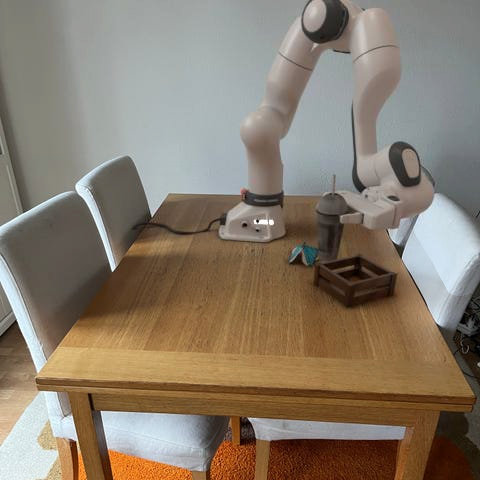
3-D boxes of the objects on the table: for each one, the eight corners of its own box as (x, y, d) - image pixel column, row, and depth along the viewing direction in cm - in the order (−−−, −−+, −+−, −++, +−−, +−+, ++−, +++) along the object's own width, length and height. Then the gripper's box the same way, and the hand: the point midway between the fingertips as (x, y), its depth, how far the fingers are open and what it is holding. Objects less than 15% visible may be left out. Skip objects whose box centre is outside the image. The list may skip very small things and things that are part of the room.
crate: (347, 308, 116) (350, 286, 113) (313, 284, 127) (315, 263, 124) (393, 295, 121) (397, 274, 118) (357, 273, 133) (359, 253, 130)
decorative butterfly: (280, 251, 136) (292, 232, 142) (281, 269, 140) (293, 250, 147) (315, 257, 132) (325, 237, 139) (315, 275, 137) (325, 255, 143)
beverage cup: (345, 253, 117) (354, 170, 107) (340, 265, 111) (349, 178, 101) (315, 250, 119) (322, 168, 109) (309, 261, 113) (315, 176, 103)
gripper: (350, 181, 121) (304, 188, 116) (408, 203, 105) (358, 213, 100) (347, 206, 124) (303, 214, 119) (403, 230, 109) (354, 241, 103)
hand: (328, 213), depth 109 cm, fingers closed on beverage cup, 7 cm apart
